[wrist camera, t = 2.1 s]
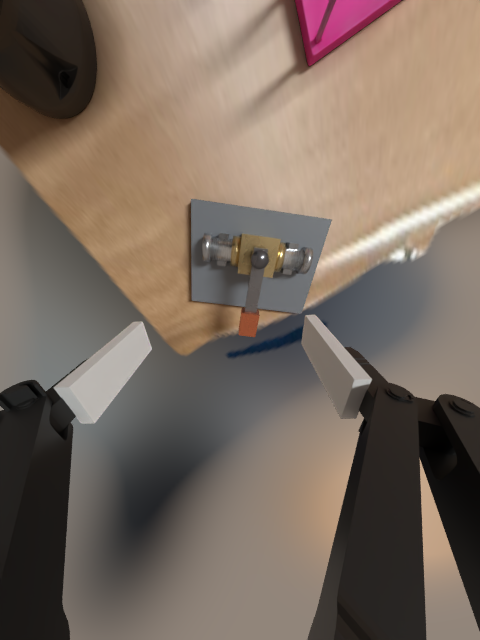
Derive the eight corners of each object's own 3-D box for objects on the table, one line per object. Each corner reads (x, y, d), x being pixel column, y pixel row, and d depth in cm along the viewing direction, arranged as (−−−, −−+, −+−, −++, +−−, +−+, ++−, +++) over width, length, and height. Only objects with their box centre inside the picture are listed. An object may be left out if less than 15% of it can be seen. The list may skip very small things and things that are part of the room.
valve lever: (250, 245, 26) (251, 247, 24) (269, 248, 27) (272, 250, 24) (238, 327, 33) (238, 335, 31) (254, 329, 33) (255, 337, 31)
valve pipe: (206, 262, 34) (200, 268, 28) (207, 228, 31) (201, 228, 26) (298, 274, 34) (307, 282, 29) (307, 242, 32) (319, 244, 27)
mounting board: (193, 298, 38) (191, 300, 36) (193, 200, 29) (191, 198, 28) (299, 310, 39) (301, 313, 38) (327, 220, 31) (331, 219, 29)
